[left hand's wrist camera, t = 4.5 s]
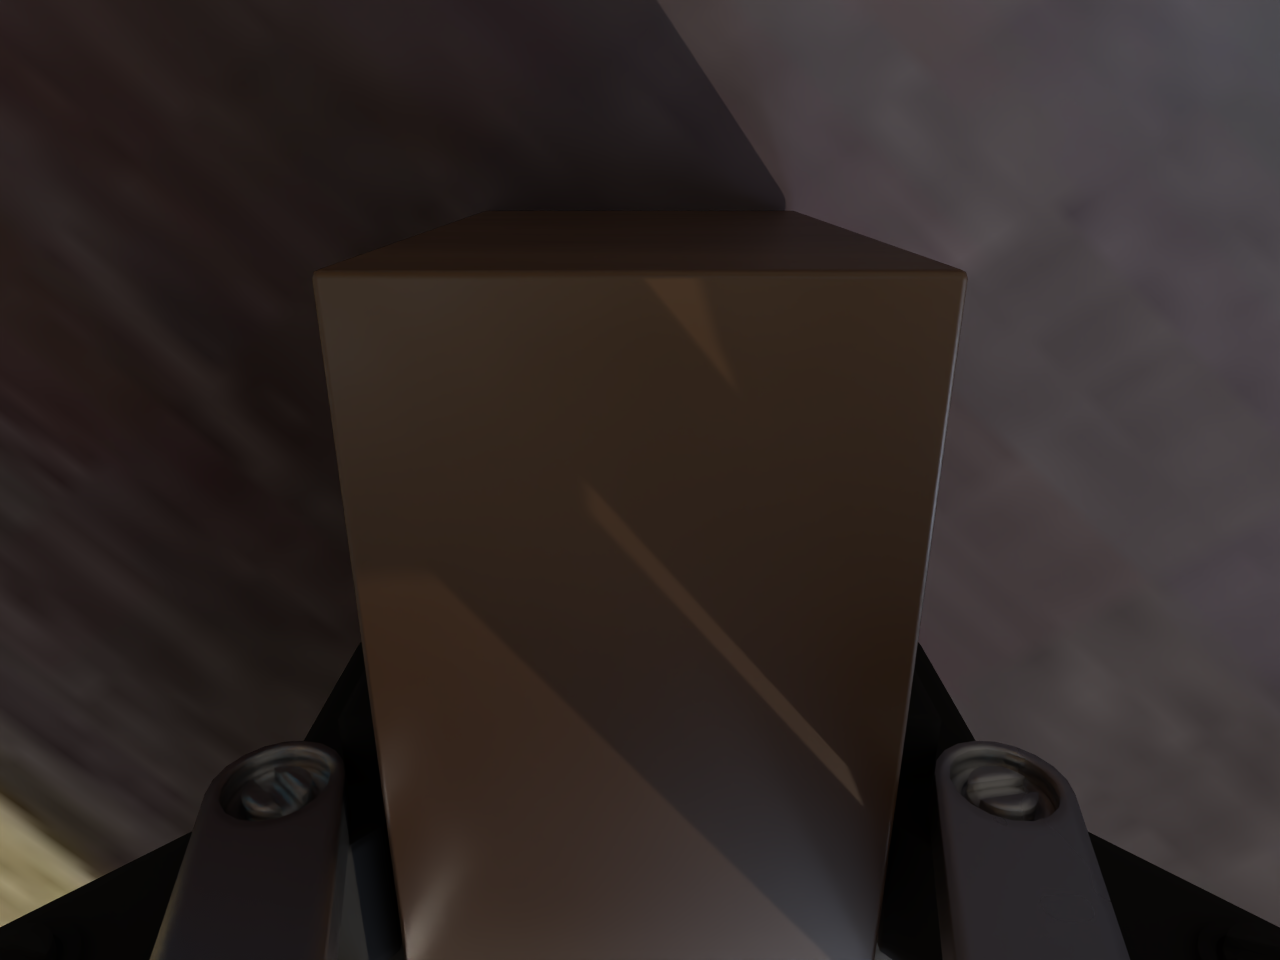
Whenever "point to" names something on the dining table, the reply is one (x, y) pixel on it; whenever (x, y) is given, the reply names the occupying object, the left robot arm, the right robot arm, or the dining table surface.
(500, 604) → the post
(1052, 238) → the dining table surface
